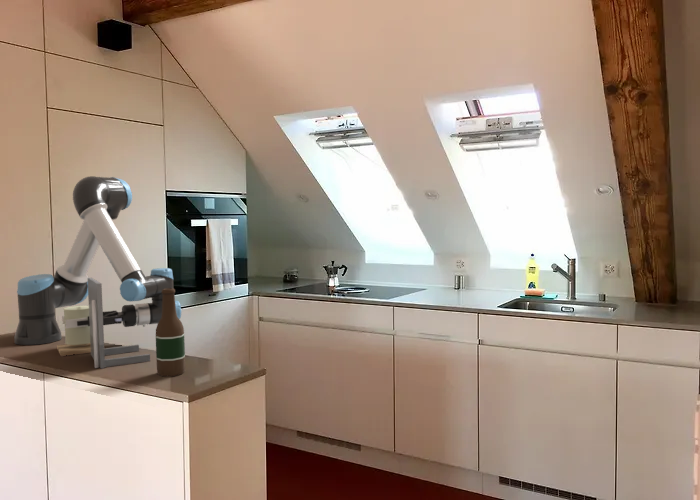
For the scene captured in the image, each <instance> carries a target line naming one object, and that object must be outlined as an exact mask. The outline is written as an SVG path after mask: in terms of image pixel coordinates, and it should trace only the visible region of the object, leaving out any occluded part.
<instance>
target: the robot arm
mask: <svg viewBox="0 0 700 500" xmlns="http://www.w3.org/2000/svg"><path fill="white" fill-rule="evenodd" d="M132 193H133V192H132V191H131V186H130V185H129V183H128V182H127V181H125V180H124V179H122V178H117V177H114V176H112V177H109V176H108V177H106V176H105V177H104V176H86V177H84V178H81V179H80V180H78V182H77V183H76V184H75V186H74V188H73V192H72V201H73V206H74V208H75V210H76V213H77V214H78V217H79V218H80V219H81V220H82V224H81V225H80V228H79V230H78V232H77V235H76V237H75V239H74V241H73V243H72V245H71V248H70V250H69V252H68V254H67V257H66V260H65V262H64V263H63V264H62V265H59V266H58V267H57V269H56V271H55V273H54V275H52V274H49V273H43V274H40V273H39V274H35V275H29V276H25V277H22V278H20V279H19V280H18V282H17V290H16V294H17V306H18V307H17V308H18V324H17V327H16V330H15V334H14V340H13V341H14V344H15V345H20V346H29V345H30V346H32V345H43V344H49V343H53V342H54V343H55V342H57V341H61V340H62V331H61V328H60V326H59V324H58V322H57V319H56V309H59V308H63V307H64V308H66V307H73V306H77V304H80V303H82V302H84V301H85V300H86V299H87V297H88V278H90V277H89V275H88V271H89V269H90V267H91V265H92V262H93V261H94V258H95V256H96V254H97V253H98V250H99V248H100V247H101V249H102V252H103V253H104V254H105V256H106V257H107V259H108V261H109V263H110V265H111V267H112V268H113V270H114V272H115V273H116V276H117V277H118V278H119V281H120V282H121V283H120V286H119V291H120V292H119V294H120V296H121V297H122V299H123V300H125V301H127V302H140V301H143V300H146V299H150V298H151V302H143V303H135V305H134V304H123V306H121V311H117V310H108V311H106V310H105V311H103V326H109V325H117V324H118V325H120V324H122V326H123V327H125V328H129V327H135V326H137V327H138V326H142V327H143V328H144V327H146V325H147V326H148V325H158V323H159V321H160V319H161V317H162V299H163V294H162V293H161V292H162V290H163V289H166V288H173V289H174V275H173V269H172V268H169V267H160V268H153V269H151V270H150V275H146V276H145V274H144V271H142V269H141V267H140V265H139V263H138V262H137V260H136V259H135V257H134V255H133V253H132V252H131V250H130V248H129V246H128V245H127V243H126V241H125V239H124V238H123V236H122V234H121V233H120V231H119V229H118V227H117V226H116V223H115V222H114V221H115V220H117V218H118V217H119V214H120V212H121V211H124V210H126V209H128V208H129V207H130V205H131V204H132V201H133V194H132ZM175 305H176V313H177V317H178V318H179V320H181V317H182V308H181V307H182V305H181V303H180V301H179V300H175ZM61 318H62V319H61V320H62V325H65V324H66V328H76V327H85V326H90V322H89V316H88V320H87V318H80V319H69V320H65V319H64V315H62V317H61Z"/></svg>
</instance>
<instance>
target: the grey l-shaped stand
mask: <svg viewBox="0 0 700 500" xmlns="http://www.w3.org/2000/svg"><path fill="white" fill-rule="evenodd" d="M102 285H103V283H101V282H100V281H99V280H97V279H94V278H93V277H89V278H88V296H87V297H88V306H89V322H90V345H91V353H90V356H91V358H92V359H93V360H94V369H99V368H100V369H106V368H109V367H117V366H123V365H124V366H125V365H131V364H138V363H147V362H151V354H150V353H145V354H139V355H130V356H122V357H116V358H115V357H113V358H106V357H105V356H110V355H118V354H125V353H126V354H128V353H135V352H140V345H139V344H131V345H123V346H113V347H106V348H105V334H104V325H103V312H104V311H103V288H102Z"/></svg>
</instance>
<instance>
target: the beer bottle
mask: <svg viewBox="0 0 700 500" xmlns="http://www.w3.org/2000/svg"><path fill="white" fill-rule="evenodd" d="M161 293H162V294H163V299H162V317H161V319H160V321H159V323H158V324H156V328H155V354H156V358H155V359H156V373H157V375H158V376H161V377H162V378H163V377H165V378H166V377H176V376H180V375H183V374H184V373H185V372H186V349H185V348H186V347H185V345H186V344H185V328H184V326H183V323H182V321H181V319H179V318H178V317H177V313H176V305H175V301H176V297H175V295H176V294H175V293H176V289H175V288H174V287H173V288H166V289H163V290H162V292H161Z"/></svg>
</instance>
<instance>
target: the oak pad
mask: <svg viewBox="0 0 700 500" xmlns="http://www.w3.org/2000/svg"><path fill="white" fill-rule="evenodd" d="M56 348H57V352H58V353H59V355H60V357H65V356H66V355H67V356H74V355H73V354H75V355H82V354H89V353H90V354H91V345H90V343H87V344H80V345H68V344H65V343H64V344H57V345H56Z"/></svg>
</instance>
